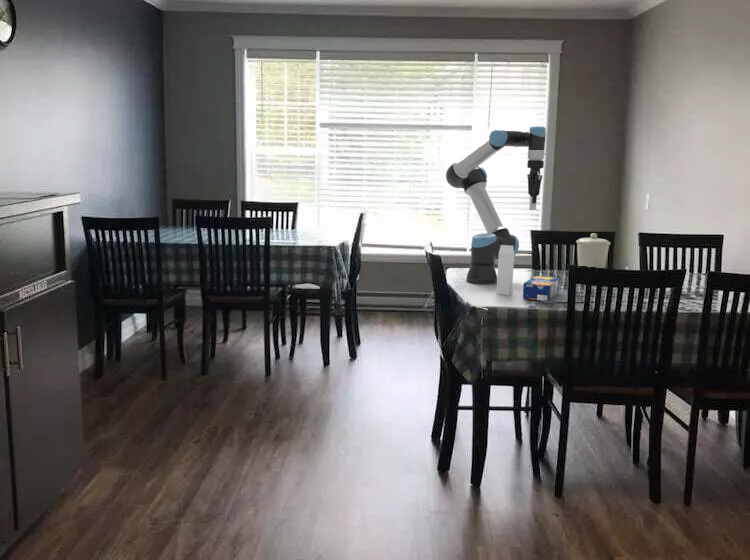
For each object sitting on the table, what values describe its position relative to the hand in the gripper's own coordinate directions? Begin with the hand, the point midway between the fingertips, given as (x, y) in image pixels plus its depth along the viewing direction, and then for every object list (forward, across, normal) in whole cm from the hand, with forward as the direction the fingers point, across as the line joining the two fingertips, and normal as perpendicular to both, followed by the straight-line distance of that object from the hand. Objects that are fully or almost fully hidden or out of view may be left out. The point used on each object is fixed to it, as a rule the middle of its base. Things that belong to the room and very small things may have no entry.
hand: (532, 209), depth 352 cm
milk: (+37, -20, +19) cm, 46 cm away
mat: (+36, -30, -4) cm, 47 cm away
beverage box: (+33, -19, -2) cm, 38 cm away
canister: (+37, +40, -52) cm, 75 cm away
